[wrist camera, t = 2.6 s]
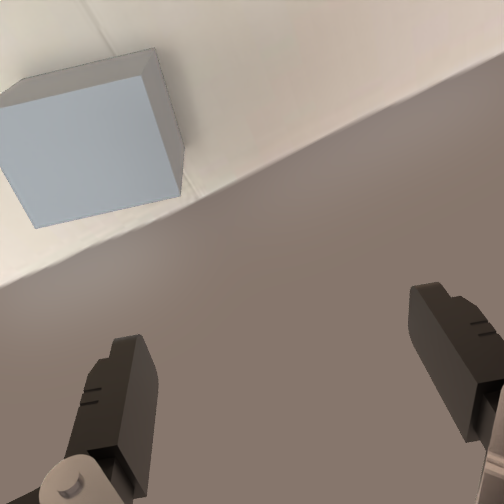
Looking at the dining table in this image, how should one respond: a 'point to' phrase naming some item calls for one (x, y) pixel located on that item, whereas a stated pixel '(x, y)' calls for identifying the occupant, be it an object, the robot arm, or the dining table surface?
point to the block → (91, 139)
